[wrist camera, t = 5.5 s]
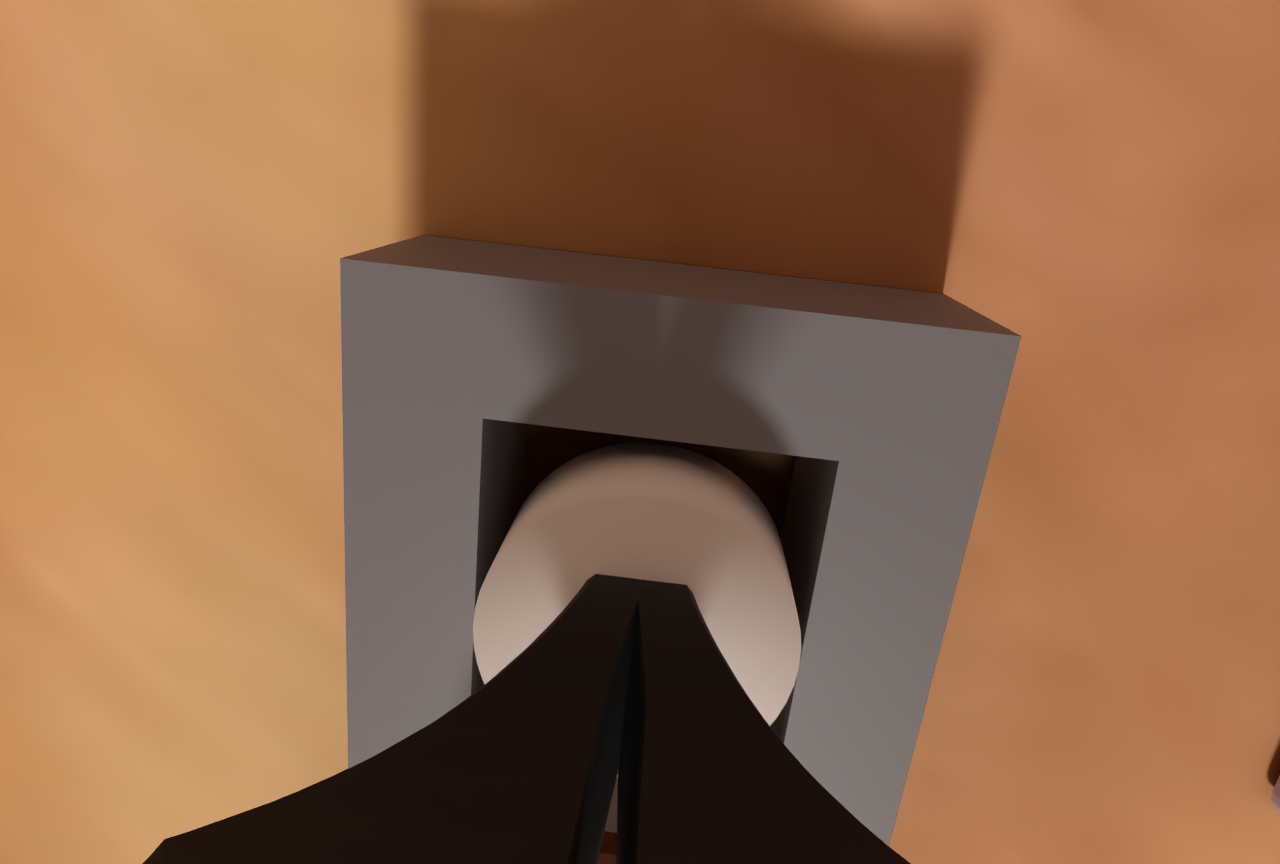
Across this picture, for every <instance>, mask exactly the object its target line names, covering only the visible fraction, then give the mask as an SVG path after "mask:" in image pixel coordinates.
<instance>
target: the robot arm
mask: <svg viewBox="0 0 1280 864" xmlns="http://www.w3.org/2000/svg"><path fill="white" fill-rule="evenodd" d="M640 582H641V583H640ZM618 767H619V768H618ZM617 774H618V791H617V845H616V864H910V863H909V862H908V861H906V860H905V859H904V858H903V857H901V856H900V855H899V854H898V853H896V852H895V851H894V850H892V849H891V848H890V847H889V846H888V845H886V844H885V843H884V842H883V841H882V840H881V839H879V838H878V837H877V836H876V835H875V834H874V833H872V832H871V831H870V830H869V829H868V828H867V827H865V826H864V825H863V824H862V823H861V822H860V821H859V820H858V819H856V818H855V817H854V816H853V815H852V814H851V813H850V812H849V811H848V810H847V809H846V808H845V807H844V806H843V805H842V804H841V803H840V802H839V801H837V800H836V799H835V798H834V797H833V796H832V795H831V794H830V793H829V792H828V791H827V790H826V789H825V788H824V787H823V786H822V785H821V784H820V783H819V782H818V781H817V780H816V779H815V778H814V777H813V776H812V775H811V774H810V773H809V772H808V771H807V770H806V769H805V768H804V767H803V765H802V764H801V763H800V762H799V761H798V760H797V759H796V757H795V756H794V755H793V754H792V753H791V752H790V751H789V749H788V748H787V747H786V746H785V745H784V744H783V742H782V741H781V740H780V739H779V737H778V736H777V735H776V734H775V732H774V731H773V730H772V728H771V727H770V726H769V724H768V723H767V722H766V721H765V719H764V718H763V716H762V715H761V714H760V712H759V711H758V709H757V708H756V706H755V705H754V704H753V702H752V701H751V699H750V698H749V697H748V695H747V694H746V692H745V691H744V689H743V687H742V686H741V684H740V683H739V681H738V680H737V678H736V677H735V675H734V673H733V671H732V670H731V668H730V666H729V665H728V663H727V661H726V660H725V658H724V656H723V655H722V653H721V651H720V650H719V648H718V646H717V644H716V642H715V640H714V639H713V637H712V635H711V633H710V631H709V629H708V627H707V625H706V623H705V621H704V618H703V616H702V614H701V612H700V610H699V607H698V605H697V602H696V600H695V597H694V594H693V593H692V591H691V590H690V589H689V587H688V586H687V585H684V584H675V583H667V582H658V581H650V580H642V579H634V578H626V577H618V576H610V575H602V574H595V575H593V576H592V577H591V578H589V579H588V580H586V582H585V583H584V585H583V586H582V588H581V589H580V590H579V592H578V593H577V594H576V595H575V597H574V598H573V599H572V600H571V602H570V603H569V604H568V605H567V606H566V607H565V608H564V610H563V611H562V612H561V613H560V614H559V615H558V616H557V618H556V619H555V620H554V621H553V622H552V623H551V624H550V625H549V626H548V627H547V628H546V629H545V630H544V631H543V632H542V633H541V634H540V635H539V636H538V637H537V638H536V639H535V640H534V641H533V642H532V643H531V644H530V645H529V646H528V647H527V648H526V649H525V650H524V651H523V652H522V653H521V654H519V655H518V656H517V657H516V658H515V659H514V660H513V661H511V662H510V663H509V664H508V665H507V666H506V667H505V668H504V669H502V670H501V671H500V672H499V673H498V674H497V675H496V676H494V677H493V678H492V679H491V680H490V681H489V682H487V683H486V684H485V685H484V686H482V687H481V688H480V689H478V690H477V691H476V692H475V693H473V694H472V695H471V696H469V697H468V698H467V699H465V700H464V701H463V702H461V703H460V704H458V705H457V706H456V707H454V708H453V709H451V710H450V711H448V712H447V713H446V714H444V715H443V716H441V717H440V718H438V719H437V720H435V721H434V722H432V723H431V724H429V725H428V726H426V727H424V728H422V729H421V730H419V731H417V732H415V733H414V734H412V735H410V736H408V737H407V738H405V739H403V740H401V741H400V742H398V743H396V744H394V745H393V746H391V747H389V748H387V749H386V750H384V751H382V752H380V753H379V754H377V755H375V756H373V757H371V758H369V759H367V760H365V761H363V762H361V763H359V764H357V765H355V766H353V767H351V768H349V769H347V770H345V771H342V772H340V773H338V774H336V775H334V776H332V777H330V778H327V779H325V780H323V781H321V782H318V783H316V784H314V785H311V786H309V787H307V788H305V789H302V790H300V791H298V792H295V793H293V794H291V795H288V796H286V797H283V798H281V799H278V800H276V801H273V802H271V803H268V804H265V805H262V806H260V807H257V808H254V809H251V810H248V811H246V812H243V813H240V814H237V815H234V816H232V817H229V818H226V819H223V820H220V821H218V822H215V823H212V824H209V825H206V826H203V827H201V828H198V829H195V830H192V831H189V832H186V833H183V834H180V835H177V836H174V837H170V838H167V839H165V840H164V841H163V842H162V843H161V844H160V845H159V846H158V847H157V849H156V850H155V851H154V852H153V853H152V854H151V855H150V857H149V858H148V859H147V860H146V861H145V862H144V863H143V864H597V861H598V856H599V852H600V848H601V844H602V839H603V835H604V831H605V826H606V822H607V818H608V813H609V809H610V805H611V800H612V796H613V792H614V787H615V783H616V779H617ZM1271 800H1272V803H1273V806H1274V807H1275V808H1276V809H1277V811H1278V812H1279V813H1280V776H1279V778H1278V780H1277V783H1276V785H1275V787H1274V789H1273V792H1272V797H1271Z"/></svg>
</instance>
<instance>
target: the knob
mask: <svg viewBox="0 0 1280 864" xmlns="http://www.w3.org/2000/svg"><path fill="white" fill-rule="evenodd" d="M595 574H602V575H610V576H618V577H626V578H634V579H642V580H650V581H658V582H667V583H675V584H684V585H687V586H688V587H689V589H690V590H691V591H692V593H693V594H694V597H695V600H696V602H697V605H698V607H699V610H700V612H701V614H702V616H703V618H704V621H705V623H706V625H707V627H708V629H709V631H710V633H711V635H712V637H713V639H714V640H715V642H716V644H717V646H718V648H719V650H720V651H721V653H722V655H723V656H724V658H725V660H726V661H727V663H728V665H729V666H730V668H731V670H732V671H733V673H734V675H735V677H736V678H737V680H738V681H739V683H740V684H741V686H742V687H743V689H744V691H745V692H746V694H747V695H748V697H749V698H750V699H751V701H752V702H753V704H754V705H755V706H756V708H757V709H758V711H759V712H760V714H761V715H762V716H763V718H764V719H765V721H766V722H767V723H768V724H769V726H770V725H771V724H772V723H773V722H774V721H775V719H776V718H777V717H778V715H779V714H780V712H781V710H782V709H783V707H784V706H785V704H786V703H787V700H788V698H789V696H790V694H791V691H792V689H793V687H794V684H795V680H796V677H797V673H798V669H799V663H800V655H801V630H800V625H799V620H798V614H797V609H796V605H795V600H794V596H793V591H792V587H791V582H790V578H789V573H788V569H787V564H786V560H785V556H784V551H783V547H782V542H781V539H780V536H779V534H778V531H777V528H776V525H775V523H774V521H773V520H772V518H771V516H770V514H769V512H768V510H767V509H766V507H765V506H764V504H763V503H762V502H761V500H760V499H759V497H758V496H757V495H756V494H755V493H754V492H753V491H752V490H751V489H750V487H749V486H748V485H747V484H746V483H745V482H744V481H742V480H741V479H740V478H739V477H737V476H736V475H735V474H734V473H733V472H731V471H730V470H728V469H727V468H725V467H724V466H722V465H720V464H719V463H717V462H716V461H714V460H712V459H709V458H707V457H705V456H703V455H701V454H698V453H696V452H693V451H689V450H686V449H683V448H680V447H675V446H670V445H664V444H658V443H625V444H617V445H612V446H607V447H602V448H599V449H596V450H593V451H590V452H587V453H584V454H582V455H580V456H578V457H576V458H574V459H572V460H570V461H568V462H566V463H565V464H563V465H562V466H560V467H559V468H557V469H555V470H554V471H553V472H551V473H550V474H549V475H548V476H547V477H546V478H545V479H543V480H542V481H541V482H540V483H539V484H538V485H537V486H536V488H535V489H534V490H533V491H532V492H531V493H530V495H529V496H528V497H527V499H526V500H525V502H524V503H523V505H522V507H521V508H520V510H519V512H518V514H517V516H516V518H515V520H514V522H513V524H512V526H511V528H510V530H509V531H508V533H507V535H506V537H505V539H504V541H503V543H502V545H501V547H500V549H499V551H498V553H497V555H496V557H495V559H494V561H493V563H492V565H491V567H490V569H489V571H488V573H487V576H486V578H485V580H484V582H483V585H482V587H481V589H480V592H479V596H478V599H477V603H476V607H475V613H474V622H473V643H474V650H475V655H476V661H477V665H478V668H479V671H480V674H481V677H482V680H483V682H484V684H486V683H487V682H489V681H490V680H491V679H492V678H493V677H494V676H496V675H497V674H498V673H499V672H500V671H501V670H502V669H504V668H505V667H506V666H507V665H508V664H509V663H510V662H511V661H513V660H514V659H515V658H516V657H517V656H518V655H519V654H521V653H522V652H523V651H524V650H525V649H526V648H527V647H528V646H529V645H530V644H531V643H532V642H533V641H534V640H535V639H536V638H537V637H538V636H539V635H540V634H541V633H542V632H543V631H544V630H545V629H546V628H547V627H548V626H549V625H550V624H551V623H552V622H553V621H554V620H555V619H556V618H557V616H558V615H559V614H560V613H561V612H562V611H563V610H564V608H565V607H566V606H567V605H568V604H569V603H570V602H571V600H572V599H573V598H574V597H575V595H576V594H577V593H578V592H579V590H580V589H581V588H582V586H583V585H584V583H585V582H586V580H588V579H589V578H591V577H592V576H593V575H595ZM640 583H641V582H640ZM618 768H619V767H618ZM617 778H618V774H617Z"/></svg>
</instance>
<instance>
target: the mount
mask: <svg viewBox="0 0 1280 864" xmlns="http://www.w3.org/2000/svg"><path fill="white" fill-rule="evenodd" d="M340 264H341V329H342V393H343V457H344V522H345V586H346V650H347V715H348V769H349V768H351V767H353V766H355V765H357V764H359V763H361V762H363V761H365V760H367V759H369V758H371V757H373V756H375V755H377V754H379V753H380V752H382V751H384V750H386V749H387V748H389V747H391V746H393V745H394V744H396V743H398V742H400V741H401V740H403V739H405V738H407V737H408V736H410V735H412V734H414V733H415V732H417V731H419V730H421V729H422V728H424V727H426V726H428V725H429V724H431V723H432V722H434V721H435V720H437V719H438V718H440V717H441V716H443V715H444V714H446V713H447V712H448V711H450V710H451V709H453V708H454V707H456V706H457V705H458V704H460V703H461V702H463V701H464V700H465V699H467V698H468V697H469V696H471V695H472V694H473V693H475V692H476V691H477V690H478V689H480V688H481V687H482V686H484V685H485V684H484V682H483V680H482V677H481V674H480V671H479V668H478V665H477V661H476V655H475V650H474V643H473V622H474V613H475V607H476V603H477V599H478V596H479V592H480V589H481V587H482V585H483V582H484V580H485V578H486V576H487V573H488V571H489V569H490V567H491V565H492V563H493V561H494V559H495V557H496V555H497V553H498V551H499V549H500V547H501V545H502V543H503V541H504V539H505V537H506V535H507V533H508V531H509V530H510V528H511V526H512V524H513V522H514V520H515V518H516V516H517V514H518V512H519V510H520V508H521V507H522V492H523V476H524V460H525V443H526V427H527V424H533V425H541V426H550V427H558V428H567V429H575V430H583V431H592V432H600V433H608V434H617V435H625V436H634V437H642V438H650V439H659V440H667V441H675V442H684V443H692V444H700V445H709V446H717V447H726V448H734V449H742V450H751V451H759V452H767V453H776V454H784V455H793V456H795V461H794V467H793V473H792V478H791V484H790V490H789V495H788V501H787V507H786V512H785V518H784V524H783V529H782V535H781V542H782V547H783V551H784V556H785V560H786V564H787V569H788V573H789V578H790V582H791V587H792V591H793V596H794V600H795V605H796V609H797V614H798V620H799V625H800V630H801V655H800V663H799V669H798V673H797V677H796V680H795V684H794V687H793V689H792V691H791V694H790V696H789V698H788V700H787V703H786V704H785V706H784V707H783V709H782V710H781V712H780V714H779V715H778V717H777V718H776V719H775V721H774V722H773V723H772V724H771V725H770V727H771V728H772V730H773V731H774V732H775V734H776V735H777V736H778V737H779V739H780V740H781V741H782V742H783V744H784V745H785V746H786V747H787V748H788V749H789V751H790V752H791V753H792V754H793V755H794V756H795V757H796V759H797V760H798V761H799V762H800V763H801V764H802V765H803V767H804V768H805V769H806V770H807V771H808V772H809V773H810V774H811V775H812V776H813V777H814V778H815V779H816V780H817V781H818V782H819V783H820V784H821V785H822V786H823V787H824V788H825V789H826V790H827V791H828V792H829V793H830V794H831V795H832V796H833V797H834V798H835V799H836V800H837V801H839V802H840V803H841V804H842V805H843V806H844V807H845V808H846V809H847V810H848V811H849V812H850V813H851V814H852V815H853V816H854V817H855V818H856V819H858V820H859V821H860V822H861V823H862V824H863V825H864V826H865V827H867V828H868V829H869V830H870V831H871V832H872V833H874V834H875V835H876V836H877V837H878V838H879V839H881V840H882V841H883V842H884V843H885V844H886V845H888V846H889V844H890V840H891V836H892V832H893V828H894V824H895V820H896V817H897V813H898V809H899V805H900V801H901V797H902V793H903V790H904V786H905V782H906V778H907V774H908V770H909V766H910V763H911V759H912V755H913V751H914V747H915V743H916V740H917V736H918V732H919V728H920V724H921V720H922V716H923V713H924V709H925V705H926V701H927V697H928V693H929V689H930V686H931V682H932V678H933V674H934V670H935V666H936V662H937V659H938V655H939V651H940V647H941V643H942V639H943V636H944V632H945V628H946V624H947V620H948V616H949V612H950V609H951V605H952V601H953V597H954V593H955V589H956V585H957V582H958V578H959V574H960V570H961V566H962V562H963V558H964V555H965V551H966V547H967V543H968V539H969V535H970V532H971V528H972V524H973V520H974V516H975V512H976V508H977V505H978V501H979V497H980V493H981V489H982V485H983V481H984V478H985V474H986V470H987V466H988V462H989V458H990V454H991V451H992V447H993V443H994V439H995V435H996V431H997V428H998V424H999V420H1000V416H1001V412H1002V408H1003V404H1004V401H1005V397H1006V393H1007V389H1008V385H1009V381H1010V377H1011V374H1012V370H1013V366H1014V362H1015V358H1016V354H1017V350H1018V347H1019V343H1020V339H1021V336H1020V335H1018V334H1016V333H1014V332H1012V331H1011V330H1009V329H1007V328H1005V327H1003V326H1001V325H1000V324H998V323H996V322H994V321H992V320H990V319H989V318H987V317H985V316H983V315H981V314H979V313H978V312H976V311H974V310H972V309H970V308H969V307H967V306H965V305H963V304H961V303H959V302H958V301H956V300H954V299H952V298H950V297H948V296H947V295H945V294H940V293H931V292H923V291H914V290H905V289H896V288H887V287H878V286H870V285H861V284H852V283H843V282H834V281H825V280H817V279H808V278H799V277H790V276H781V275H772V274H764V273H755V272H746V271H737V270H728V269H719V268H711V267H702V266H693V265H684V264H675V263H666V262H658V261H649V260H640V259H631V258H622V257H613V256H605V255H596V254H587V253H578V252H569V251H561V250H552V249H543V248H534V247H525V246H516V245H508V244H499V243H490V242H481V241H472V240H463V239H455V238H446V237H437V236H428V235H422V236H418V237H415V238H411V239H408V240H404V241H400V242H397V243H393V244H390V245H386V246H383V247H379V248H376V249H372V250H369V251H365V252H361V253H358V254H354V255H351V256H347V257H344V258H340ZM617 791H618V778H617V779H616V783H615V787H614V792H613V796H612V800H611V805H610V809H609V813H608V818H607V822H606V826H605V831H606V832H613V833H617Z"/></svg>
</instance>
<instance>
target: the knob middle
mask: <svg viewBox="0 0 1280 864" xmlns="http://www.w3.org/2000/svg"><path fill="white" fill-rule="evenodd" d="M597 864H616V855H613V854H604V853H599V856H598V861H597Z"/></svg>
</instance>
